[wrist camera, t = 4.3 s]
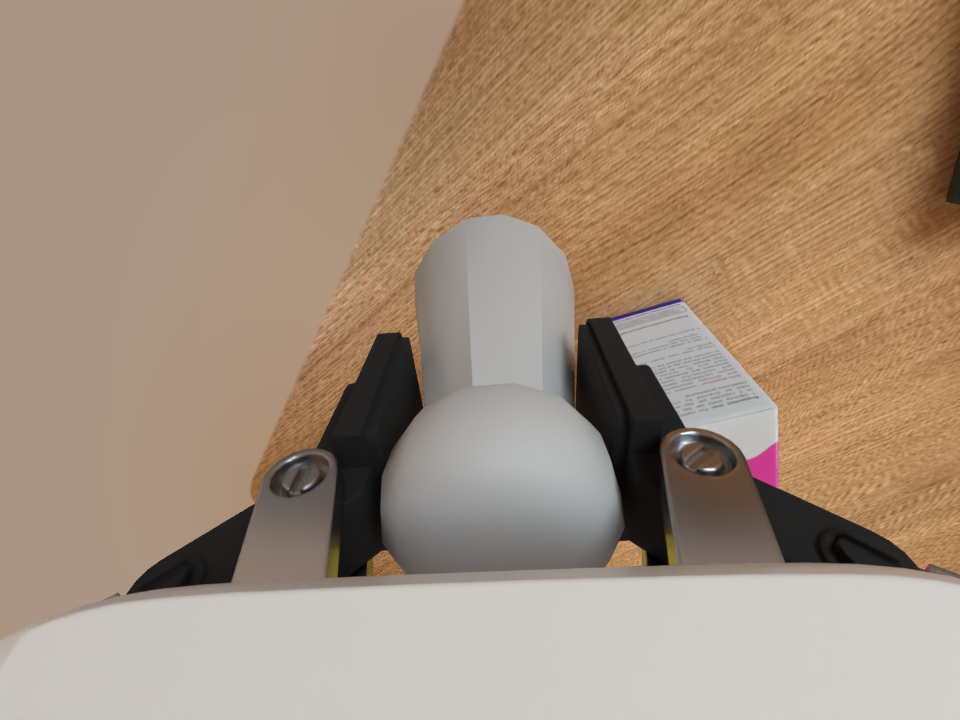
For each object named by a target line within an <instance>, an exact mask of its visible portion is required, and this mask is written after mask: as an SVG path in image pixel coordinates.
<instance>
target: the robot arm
mask: <svg viewBox="0 0 960 720" xmlns="http://www.w3.org/2000/svg"><path fill="white" fill-rule="evenodd" d="M422 409H423V404H422V399H421V394H420V389H419V384H418V379H417V374H416V369H415V364H414V359H413V354H412V349H411V344H410V340H409V338H408V337H404V338H402V335H401V333H400V332H398V333H384V334H378V335H377V337H376V339H375V341H374V343H373V346H372V348H371V350H370V352H369V354H368V357H367V359H366V361H365V363H364V365H363V368H362V370H361V372H360V374H359V376H358V379H357V381H356V383H353V384H349V385H348V386H347V387H346V389H345V391H344V393H343V395H342V397H341V399H340V401H339V403H338V405H337V407H336V409H335V411H334V413H333V416H332V418H331V420H330V422H329V424H328V426H327V428H326V430H325V432H324V434H323V436H322V438H321V440H320V443H319V445H318V447H317V449H316V448H315V449H305V450H302V451H298V452H295V453H293V454H291V455H289V456H287V457H285V458H283V459H281V460H280V461H279V462H277V463H276V464H275V465H273V466H272V468H271V469H270V470H269V471H268V472H267V473H266V475H265V477H264V479H263V481H262V483H261V486H260V490H259V493H258V496H257V499H256V503H255V504H253V505H252V506H250V507H248V508H247V509H245V510H244V511H242V512H240V513H239V514H237V515H235V516H234V517H232V518H230V519H229V520H227V521H225V522H224V523H222V524H220V525H219V526H217V527H216V528H214V529H212V530H210V531H209V532H207V533H205V534H204V535H202V536H200V537H199V538H197V539H195V540H194V541H192V542H191V543H189V544H187V545H185V546H184V547H183V548H180V549H179V550H177V551H176V552H174V553H172V554H171V555H169V556H167V557H166V558H164V559H162V560H161V561H159V562H158V563H157V564H155V565H154V566H152V567H151V568H150V569H148V570H147V571H146V572H145V573H144V574H143V575H142V576H141V577H140V578H139V579H138V580H137V581H136V582H135V583H134V585H133V586H132V587H131V589H130V590H129V591H128V593H127V594H126V595H123V596H121V595H120V594H119V593H116V594H114V595H112V596H110V597H108V598H106V599H104V600H102V601H99V602H95V603H92V604H88V605H84V606H80V607H77V608H74V609H72V610H69V611H66V612H63V613H61V614H58V615H56V616H53V617H50V618H48V619H45V620H42V621H39V622H37V623H34V624H32V625H30V626H28V627H26V628H24V629H21V630H19V631H17V632H15V633H13V634H11V635H9V636H7V637H5V638H3V639H2V640H0V720H960V575H959V574H956V573H953V572H951V571H948V570H945V569H942V568H940V567H937V566H934V565H932V564H929V565H928V566H927V568H926V569H925V570H923V569H921V568H918V567H917V566H916V564H915V563H914V562H913V561H912V560H911V559H910V558H909V557H908V556H907V555H906V553H905V552H903V551H902V550H901V549H899V548H898V547H897V546H895V545H894V544H893V543H892V542H890V541H889V540H887V539H885V538H883V537H882V536H880V535H878V534H876V533H874V532H872V531H870V530H868V529H866V528H864V527H862V526H859V525H857V524H855V523H853V522H851V521H848V520H846V519H844V518H842V517H840V516H837V515H835V514H833V513H831V512H829V511H826V510H824V509H822V508H820V507H818V506H815V505H813V504H811V503H809V502H807V501H805V500H802V499H800V498H798V497H796V496H794V495H791V494H789V493H787V492H785V491H783V490H780V489H778V488H776V487H774V486H772V485H769V484H767V483H765V482H763V481H761V480H759V479H756V478H754V477H753V476H752V474H751V471H750V468H749V466H748V463H747V460H746V458H745V456H744V454H743V453H742V451H741V450H740V448H739V447H738V446H736V445H735V444H734V443H733V442H732V441H731V440H729V439H727V438H725V437H724V436H722V435H720V434H717V433H715V432H712V431H709V430H705V429H699V428H686V427H685V425H684V424H683V422H682V420H681V419H680V417H679V415H678V414H677V412H676V410H675V408H674V407H673V405H672V403H671V402H670V400H669V398H668V397H667V395H666V393H665V391H664V390H663V388H662V386H661V385H660V383H659V381H658V379H657V378H656V376H655V374H654V373H653V371H652V369H651V368H650V367H649V366H648V365H636V364H635V362H634V360H633V358H632V356H631V355H630V353H629V351H628V349H627V347H626V345H625V344H624V342H623V340H622V338H621V336H620V334H619V332H618V331H617V329H616V327H615V325H614V323H613V321H612V319H611V318H610V317H608V318H594V319H587V322H586V325H579V331H578V358H577V386H576V410H577V411H578V412H579V413H580V414H581V415H582V416H583V417H584V418H585V419H586V420H588V421H589V422H590V423H591V424H592V425H593V426H594V427H595V428H596V429H597V430H598V432H599V433H600V434H601V436H602V439H603V441H604V444H605V446H606V449H607V451H608V454H609V456H610V459H611V462H612V466H613V469H614V472H615V476H616V479H617V483H618V486H619V489H620V493H621V496H622V506H623V516H624V526H625V529H624V531H623V533H622V535H621V537H620V539H619V541H628V540H630V541H631V542H633V543H634V544H636V545H637V546H639V547H640V548H642V564H643V566H634V567H602V568H571V569H543V570H515V571H488V572H461V573H435V574H409V575H385V576H373V561H372V558H373V557H374V556H375V555H377V554H378V553H379V552H380V551H382V550H387V549H386V547H385V546H384V545H383V543H382V531H381V511H380V505H381V486H382V474H383V472H384V469H385V466H386V464H387V461H388V458H389V456H390V453H391V450H392V449H393V447H394V446H395V445H396V443H397V442H398V440H399V439H400V437H401V436H402V435H403V433H404V432H405V430H406V429H407V428H408V426H409V425H410V423H411V422H412V421H413V419H414V418H415V417H416V415H417V414H418V413H419V412H420V411H421V410H422Z"/></svg>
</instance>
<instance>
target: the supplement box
mask: <svg viewBox="0 0 960 720" xmlns="http://www.w3.org/2000/svg"><path fill="white" fill-rule="evenodd" d="M611 319H612V321H613V323H614V325H615V327H616V329H617V331H618V332H619V334H620V336H621V338H622V340H623V342H624V344H625V345H626V347H627V349H628V351H629V353H630V355H631V356H632V358H633V360H634V362H635V364H636V365H648V366H649V367H650V368H651V369H652V371H653V373H654V374H655V376H656V378H657V379H658V381H659V383H660V385H661V386H662V388H663V390H664V391H665V393H666V395H667V397H668V398H669V400H670V402H671V403H672V405H673V407H674V408H675V410H676V412H677V414H678V415H679V417H680V419H681V420H682V422H683V424H684V425H685V427H686V428H699V429H705V430H709V431H712V432H715V433H717V434H720V435H722V436H724V437H725V438H727V439H729V440H731V441H732V442H733V443H734V444H735V445H736V446H738V447H739V448H740V450H741V451H742V453H743V454H744V456H745V458H746V460H747V463H748V466H749V468H750V471H751V474H752V476H753V477H754V478H756V479H759V480H761V481H763V482H765V483H767V484H769V485H772V486H774V487H776V488H778V477H779V473H778V465H779V453H778V407H777V405H776V404H774V402H773V401H772V400H771V399H770V398H769V397H768V396H767V395H766V393H765V392H764V391H763V390H762V389H761V388H760V387H759V386H758V385H757V383H756V382H755V381H754V380H753V379H752V378H751V377H750V376H749V375H748V373H747V372H746V371H745V370H744V369H743V368H742V367H741V365H740V364H739V363H738V362H737V361H736V360H735V359H734V358H733V356H732V355H731V354H730V353H729V352H728V351H727V350H726V349H725V347H724V346H723V345H722V344H721V343H720V342H719V341H718V340H717V339H716V338H715V336H714V335H713V334H712V333H711V332H710V331H709V330H708V329H707V328H706V326H705V325H704V324H703V323H702V322H701V321H700V320H699V319H698V317H697V316H696V315H695V314H694V313H693V312H692V311H691V309H690V308H689V307H688V306H687V305H686V304H685V303H684V301H683V300H682V298H679V299H675V300H671V301H668V302H665V303H661V304H658V305H655V306H651V307H648V308H645V309H642V310H638V311H634V312H631V313H628V314H624V315H620V316H617V317H614V318H611Z"/></svg>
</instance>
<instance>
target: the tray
mask: <svg viewBox="0 0 960 720" xmlns="http://www.w3.org/2000/svg"><path fill="white" fill-rule="evenodd" d="M947 202H951V203H955V204H960V153H959V156H958V160H957V164H956V168H955V171H954V175H953V179H952V183H951V186H950V190H949V194H948V197H947Z"/></svg>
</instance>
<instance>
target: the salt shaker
mask: <svg viewBox="0 0 960 720" xmlns="http://www.w3.org/2000/svg"><path fill="white" fill-rule="evenodd" d="M415 306H416V315H417V324H418V332H419V341H420V350H421V359H422V371H423V385H424V399H425V408H423V409H422V410H421V411H420V412H419V413H418V414H417V415H416V417H415V418H414V419H413V421H412V422H411V423H410V425H409V426H408V428H407V429H406V430H405V432H404V433H403V435H402V436H401V437H400V439H399V440H398V442H397V443H396V445H395V446H394V447H393V449H392V450H391V453H390V456H389V458H388V461H387V464H386V466H385V469H384V472H383V474H382V486H381V505H380V511H381V531H382V543H383V545H384V546H385V547H386V549H387V550H388V551H389V553H390V554H391V555H392V557H393V558H394V559H395V561H396V562H397V563H398V565H399V566H400V567H401V569H402V570H403V572H404V573H405V574H406V575H409V574H435V573H461V572H488V571H515V570H543V569H571V568H602V567H605V566H606V565H607V564H608V562H609V561H610V559H611V557H612V555H613V552H614V550H615V548H616V546H617V544H618V542H619V539H620V537H621V535H622V533H623V531H624V529H625V526H624V516H623V506H622V496H621V493H620V489H619V486H618V483H617V479H616V476H615V472H614V469H613V466H612V462H611V459H610V456H609V454H608V451H607V449H606V446H605V444H604V441H603V439H602V436H601V434H600V433H599V432H598V430H597V429H596V428H595V427H594V426H593V425H592V424H591V423H590V422H589V421H588V420H586V419H585V418H584V417H583V416H582V415H581V414H580V413H579V412H578V411H577V410H575V409H574V286H573V282H572V278H571V274H570V271H569V267H568V263H567V259H566V256H565V254H564V253H563V252H562V251H561V250H560V249H559V248H558V247H557V246H556V245H555V244H554V242H553V241H552V240H551V239H550V238H549V237H548V236H547V235H546V234H545V233H544V232H543V231H542V229H541V228H540V227H538V226H536V225H533V224H530V223H528V222H525V221H522V220H519V219H516V218H513V217H510V216H507V215H505V214H501V215H491V216H482V217H473V218H466V219H465V220H463V221H462V222H460V223H459V224H457V225H456V226H454V227H453V228H451V229H450V230H449V231H447V232H446V233H444V234H443V235H441V236H440V237H438V238H437V239H436V240H434V241H433V243H432V245H431V246H430V248H429V250H428V251H427V253H426V255H425V256H424V258H423V260H422V262H421V263H420V265H419V267H418V268H417V270H416V272H415Z"/></svg>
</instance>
